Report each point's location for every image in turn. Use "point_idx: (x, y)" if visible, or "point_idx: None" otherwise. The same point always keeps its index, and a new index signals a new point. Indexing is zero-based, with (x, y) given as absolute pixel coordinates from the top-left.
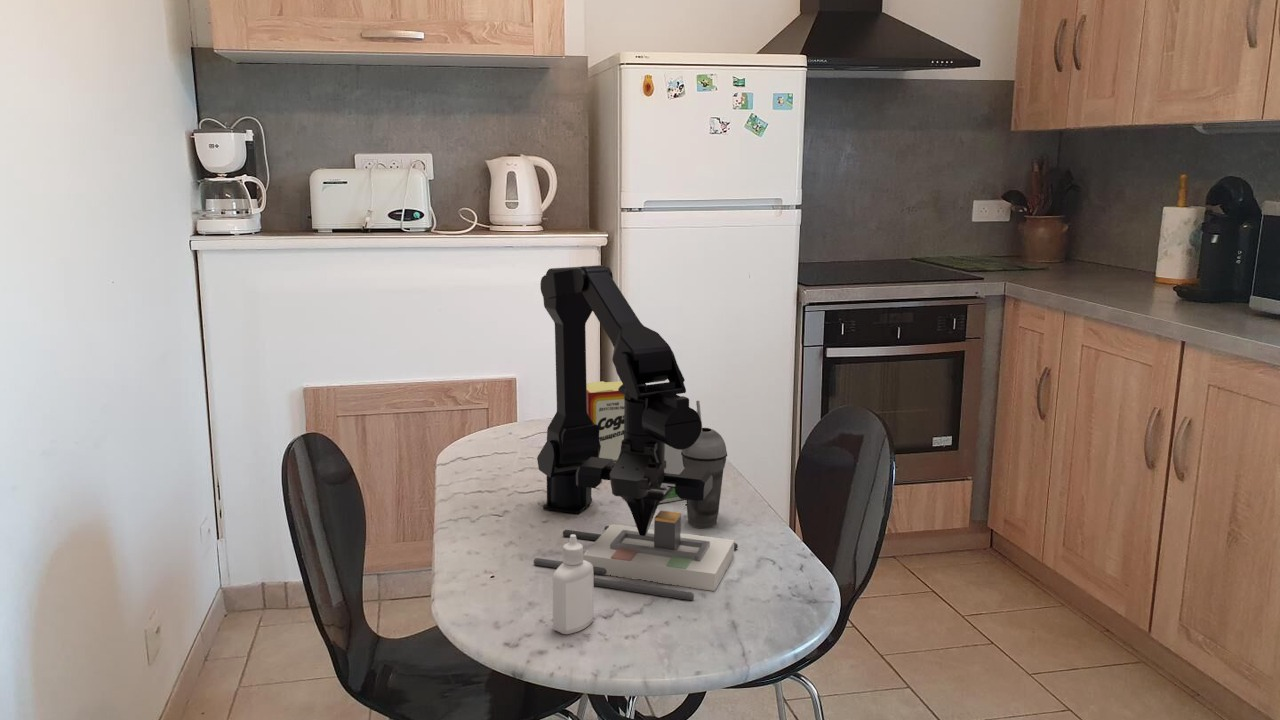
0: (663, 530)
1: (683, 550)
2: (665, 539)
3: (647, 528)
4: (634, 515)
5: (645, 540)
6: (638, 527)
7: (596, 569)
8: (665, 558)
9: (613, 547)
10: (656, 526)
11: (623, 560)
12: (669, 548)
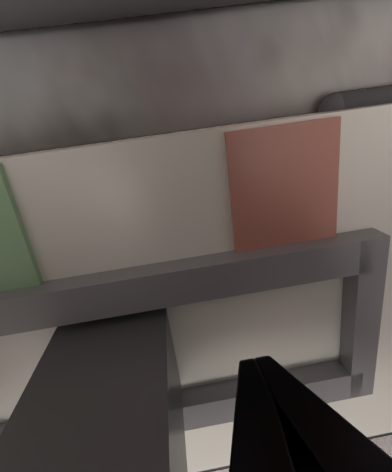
0: (95, 416)
1: None
2: (93, 365)
3: (236, 406)
4: (382, 470)
5: None
6: (294, 388)
7: (368, 90)
8: (69, 256)
9: (361, 234)
10: (150, 429)
11: (262, 126)
12: (80, 333)
